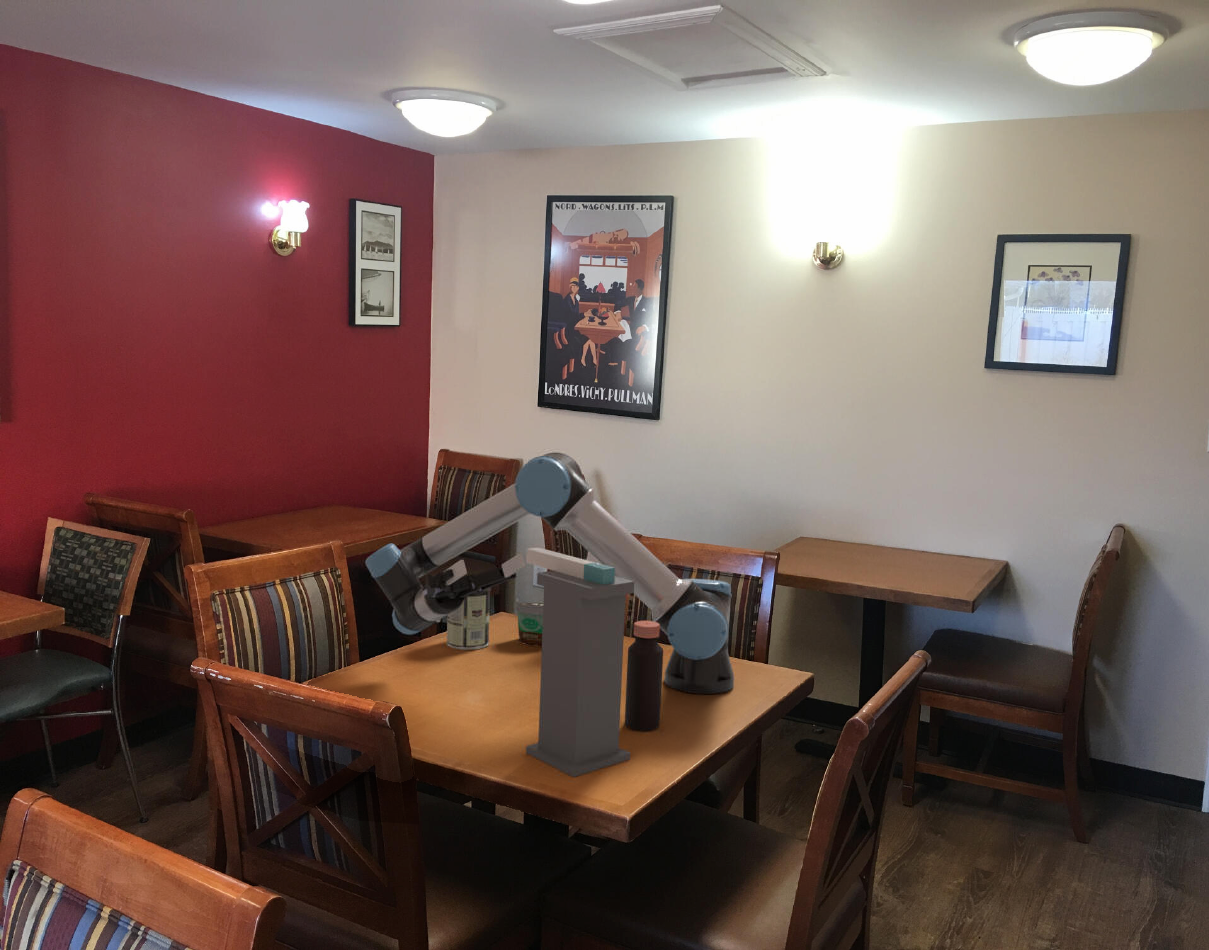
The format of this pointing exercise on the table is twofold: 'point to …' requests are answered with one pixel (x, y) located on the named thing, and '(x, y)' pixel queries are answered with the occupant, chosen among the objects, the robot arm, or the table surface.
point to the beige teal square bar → (571, 565)
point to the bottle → (644, 678)
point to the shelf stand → (581, 673)
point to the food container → (530, 622)
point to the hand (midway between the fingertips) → (493, 563)
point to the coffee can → (470, 622)
